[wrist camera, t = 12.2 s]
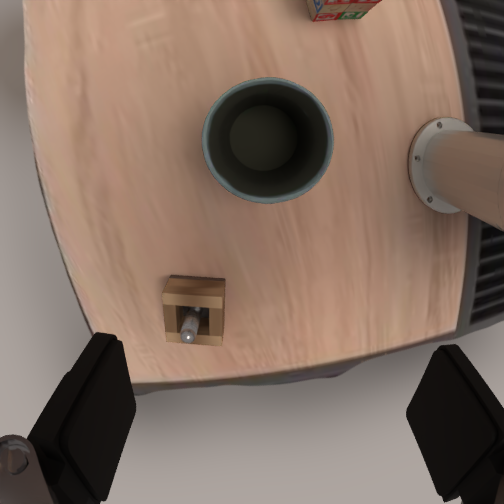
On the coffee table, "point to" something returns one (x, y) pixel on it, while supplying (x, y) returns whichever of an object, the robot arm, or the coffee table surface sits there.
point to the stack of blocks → (339, 9)
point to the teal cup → (267, 140)
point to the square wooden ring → (195, 296)
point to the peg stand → (193, 313)
